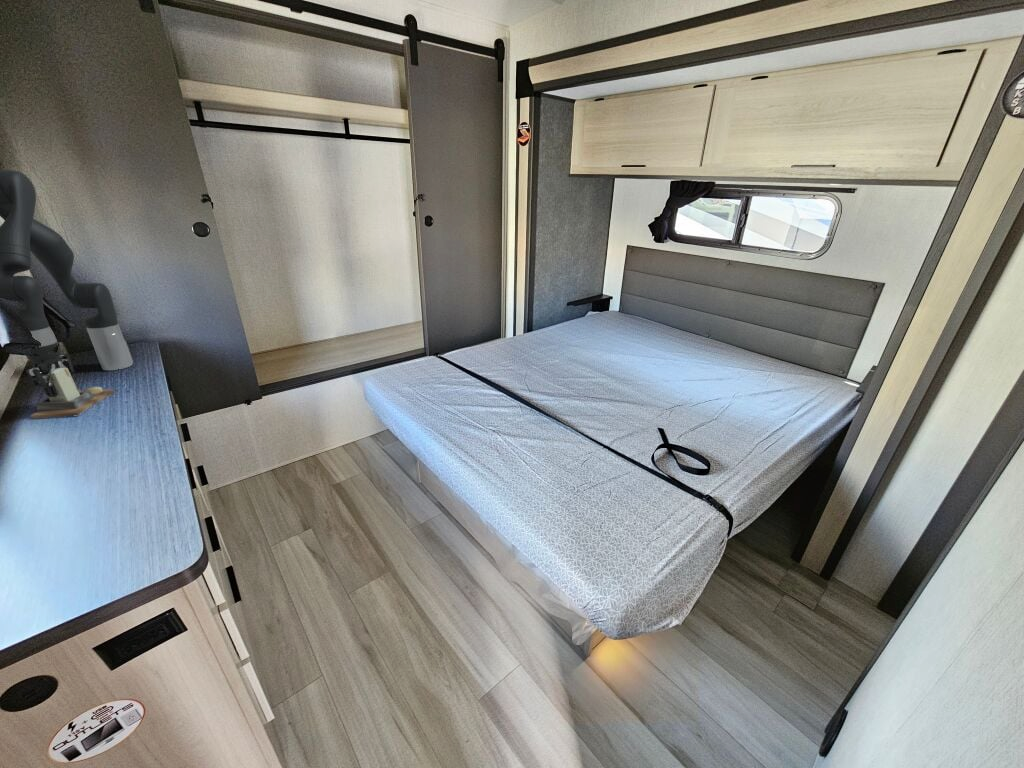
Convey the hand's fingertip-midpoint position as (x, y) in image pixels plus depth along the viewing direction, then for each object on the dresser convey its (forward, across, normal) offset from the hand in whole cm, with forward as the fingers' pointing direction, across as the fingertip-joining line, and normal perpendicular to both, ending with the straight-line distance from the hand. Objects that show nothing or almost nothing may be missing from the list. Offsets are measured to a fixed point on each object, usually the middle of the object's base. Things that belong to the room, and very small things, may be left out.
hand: (61, 391), depth 133 cm
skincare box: (+5, 0, 0) cm, 5 cm away
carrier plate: (+6, -2, +1) cm, 6 cm away
